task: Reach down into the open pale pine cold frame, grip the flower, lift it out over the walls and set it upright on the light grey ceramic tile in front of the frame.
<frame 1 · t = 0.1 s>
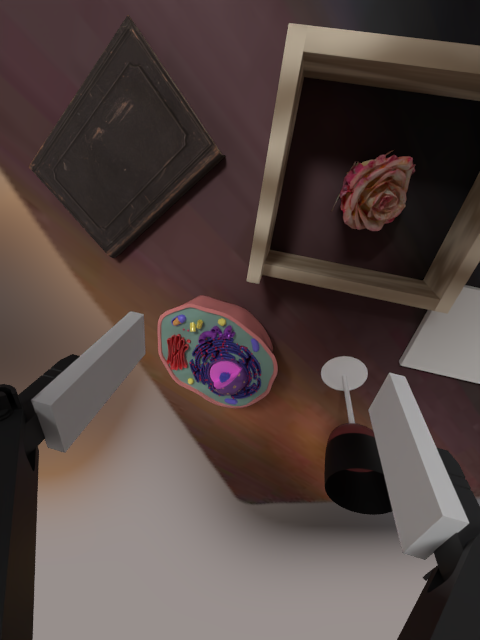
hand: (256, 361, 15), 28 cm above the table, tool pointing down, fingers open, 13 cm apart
cold frame: (370, 190, 34), on the table
flower: (370, 190, 34), on the table
hardcover book: (128, 161, 39), on the table
cell model: (227, 331, 49), on the table
tile: (470, 335, 41), on the table
wineglass: (343, 373, 49), on the table
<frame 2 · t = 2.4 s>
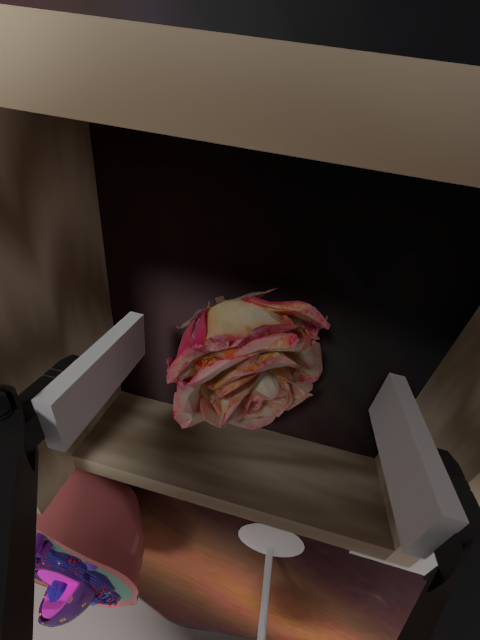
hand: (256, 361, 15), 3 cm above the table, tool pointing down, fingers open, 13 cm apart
cold frame: (264, 326, 18), on the table
flower: (264, 324, 18), on the table
cell model: (97, 473, 33), on the table
tile: (457, 531, 24), on the table
wineglass: (270, 538, 32), on the table
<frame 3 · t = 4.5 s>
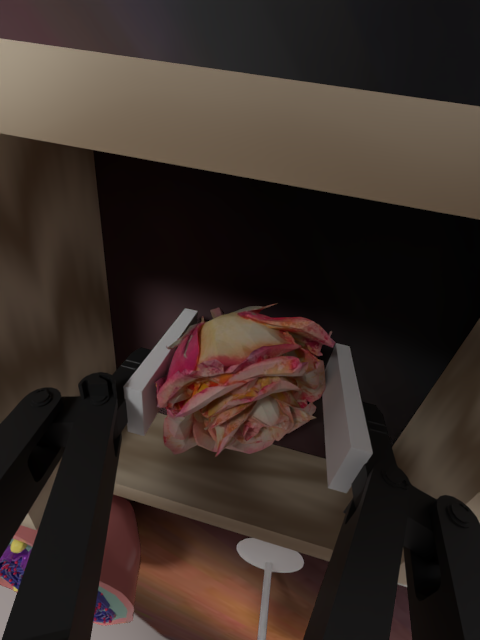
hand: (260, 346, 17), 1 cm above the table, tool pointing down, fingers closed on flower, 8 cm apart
cold frame: (263, 339, 18), on the table
flower: (263, 337, 17), point 1 cm above the table, touching gripper
cell model: (94, 485, 32), on the table
wineglass: (269, 553, 32), on the table
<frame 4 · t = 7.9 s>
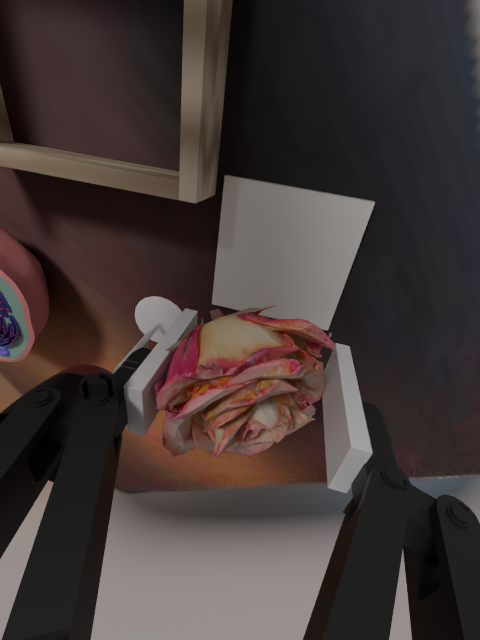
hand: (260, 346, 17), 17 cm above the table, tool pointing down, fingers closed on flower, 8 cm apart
cold frame: (92, 31, 24), on the table
flower: (263, 338, 17), point 16 cm above the table, touching gripper
cell model: (17, 268, 39), on the table
tile: (282, 257, 31), on the table
wineglass: (161, 320, 39), on the table
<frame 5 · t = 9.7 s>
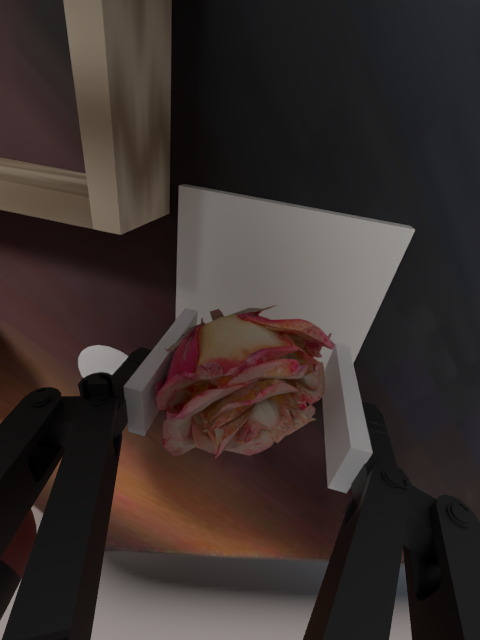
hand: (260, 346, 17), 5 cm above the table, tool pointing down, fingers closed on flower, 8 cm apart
flower: (262, 338, 17), point 5 cm above the table, touching gripper
tile: (270, 303, 21), on the table
wineglass: (113, 374, 29), on the table
when the fingers open (2 cm above the table, at t = 11.4 s): flower stays where it is, resting on tile.
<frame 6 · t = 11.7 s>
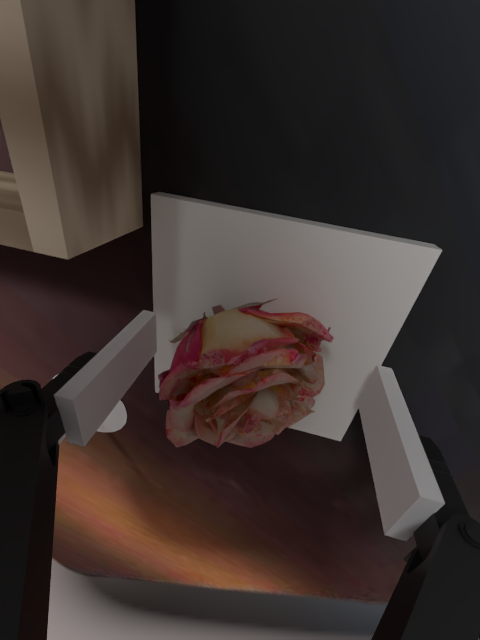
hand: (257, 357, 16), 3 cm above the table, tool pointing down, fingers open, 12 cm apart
flower: (263, 334, 17), point 1 cm above the table, touching tile
tile: (264, 330, 18), on the table
wineglass: (89, 402, 26), on the table
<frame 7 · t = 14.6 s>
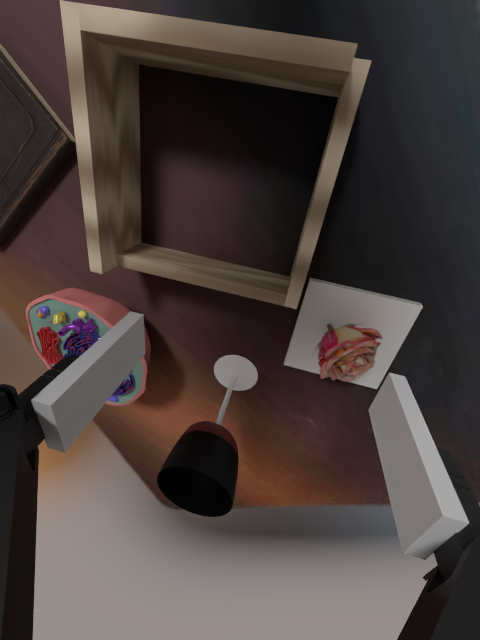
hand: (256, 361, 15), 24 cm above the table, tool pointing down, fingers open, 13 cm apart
cold frame: (222, 182, 34), on the table
flower: (346, 336, 39), point 1 cm above the table, touching tile
cell model: (118, 326, 48), on the table
tile: (344, 334, 40), on the table
wineglass: (235, 372, 47), on the table
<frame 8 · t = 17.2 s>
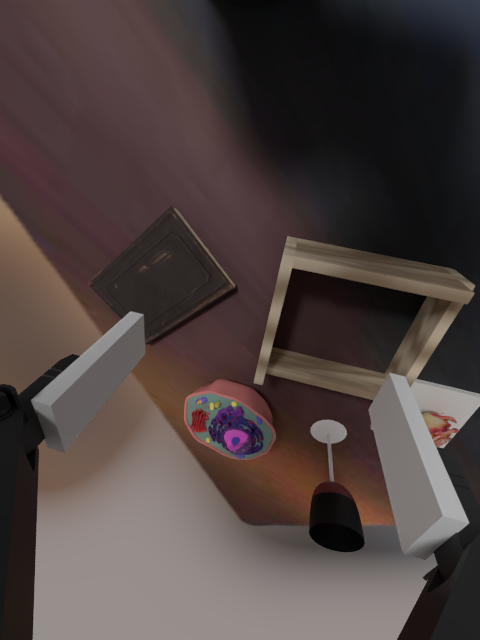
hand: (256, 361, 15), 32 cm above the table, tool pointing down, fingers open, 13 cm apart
cold frame: (343, 316, 47), on the table
flower: (423, 413, 53), point 1 cm above the table, touching tile
hardcover book: (163, 281, 52), on the table
cell model: (236, 397, 62), on the table
tile: (421, 411, 54), on the table
wineglass: (328, 431, 61), on the table
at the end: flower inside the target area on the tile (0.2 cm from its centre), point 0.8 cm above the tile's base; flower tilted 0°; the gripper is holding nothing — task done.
